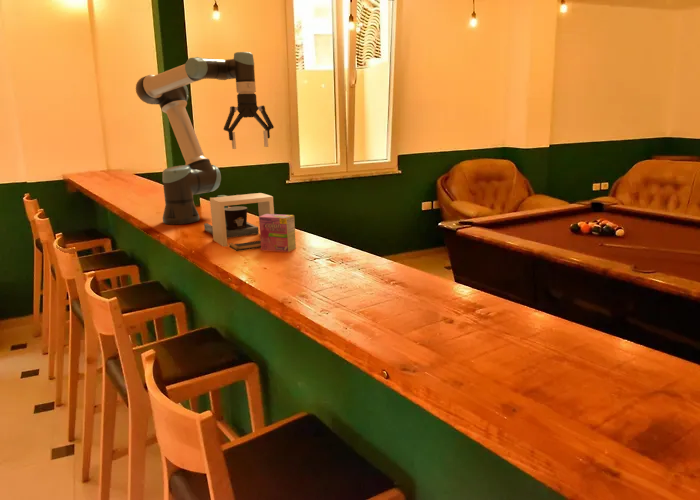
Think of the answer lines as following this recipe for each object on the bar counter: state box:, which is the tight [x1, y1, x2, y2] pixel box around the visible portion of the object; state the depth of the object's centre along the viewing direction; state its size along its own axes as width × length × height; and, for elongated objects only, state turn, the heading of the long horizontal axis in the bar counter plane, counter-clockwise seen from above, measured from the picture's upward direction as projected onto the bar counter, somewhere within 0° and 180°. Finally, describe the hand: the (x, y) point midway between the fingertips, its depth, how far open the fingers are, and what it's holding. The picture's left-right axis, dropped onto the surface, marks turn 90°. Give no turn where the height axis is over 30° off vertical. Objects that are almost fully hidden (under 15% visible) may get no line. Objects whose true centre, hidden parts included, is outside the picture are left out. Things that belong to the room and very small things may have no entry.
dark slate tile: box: [228, 240, 261, 252], centre depth 193 cm, size 8×16×1 cm, turn 119°
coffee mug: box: [224, 206, 248, 230], centre depth 210 cm, size 12×9×10 cm
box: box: [258, 213, 297, 253], centre depth 186 cm, size 10×6×12 cm, turn 69°
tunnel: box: [209, 192, 275, 247], centre depth 201 cm, size 12×19×16 cm, turn 119°
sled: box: [204, 194, 260, 239], centre depth 215 cm, size 20×15×13 cm
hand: (250, 147), depth 226 cm, fingers open, 13 cm apart
